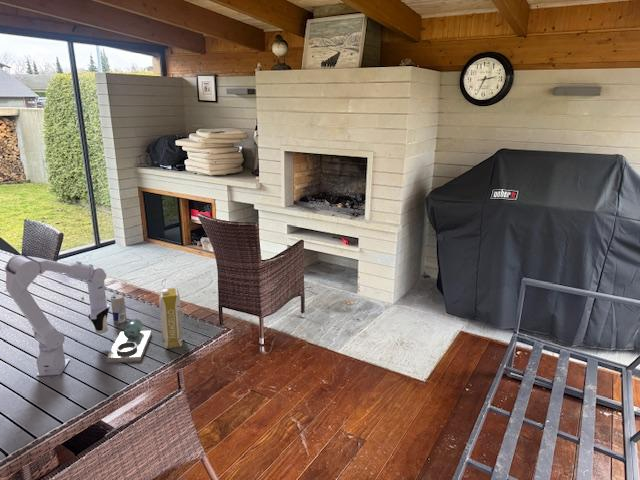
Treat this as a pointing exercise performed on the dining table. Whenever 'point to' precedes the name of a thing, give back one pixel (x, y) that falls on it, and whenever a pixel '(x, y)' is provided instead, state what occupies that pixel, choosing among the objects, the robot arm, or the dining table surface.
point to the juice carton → (171, 318)
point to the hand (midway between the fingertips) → (101, 327)
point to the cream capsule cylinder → (105, 326)
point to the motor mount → (130, 343)
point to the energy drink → (118, 308)
